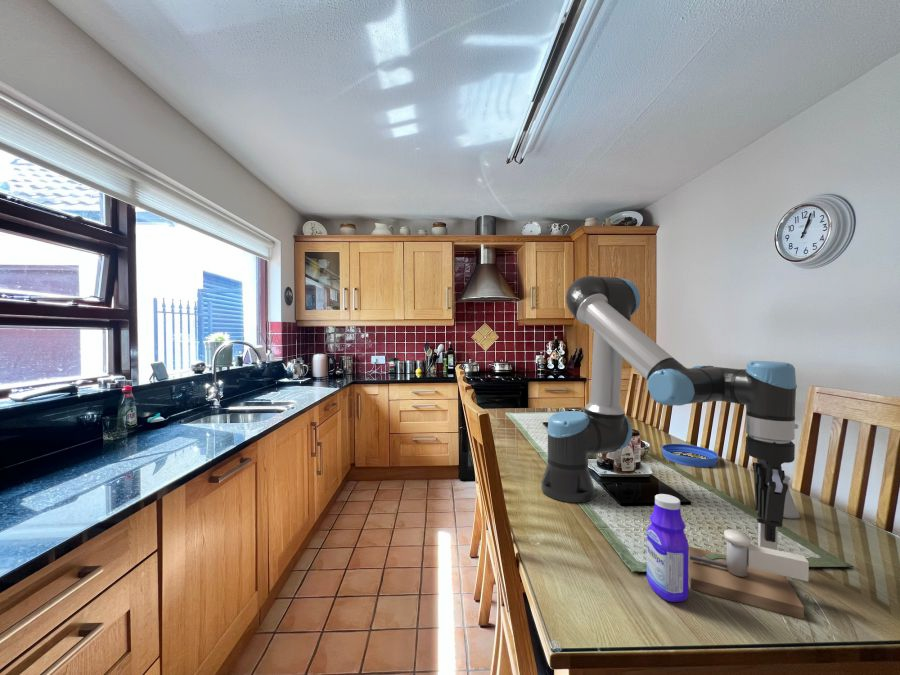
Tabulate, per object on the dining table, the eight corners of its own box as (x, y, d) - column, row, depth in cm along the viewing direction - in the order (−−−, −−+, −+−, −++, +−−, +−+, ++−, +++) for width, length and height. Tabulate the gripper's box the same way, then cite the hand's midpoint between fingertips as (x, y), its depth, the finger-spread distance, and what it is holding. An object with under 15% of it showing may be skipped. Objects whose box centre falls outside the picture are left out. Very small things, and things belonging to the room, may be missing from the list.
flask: (806, 521, 95) (807, 482, 95) (774, 518, 96) (775, 479, 96) (787, 508, 102) (788, 471, 102) (757, 505, 103) (758, 469, 103)
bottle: (640, 579, 72) (641, 490, 72) (667, 577, 73) (669, 489, 73) (664, 606, 65) (666, 508, 65) (695, 604, 66) (696, 507, 65)
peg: (690, 565, 73) (691, 530, 73) (688, 554, 77) (689, 520, 76) (810, 594, 65) (811, 555, 65) (801, 581, 68) (802, 543, 68)
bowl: (730, 468, 132) (730, 459, 132) (679, 468, 132) (679, 458, 132) (697, 452, 150) (697, 443, 150) (652, 451, 150) (652, 443, 150)
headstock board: (690, 588, 70) (690, 577, 70) (684, 554, 80) (684, 544, 80) (803, 619, 62) (803, 606, 62) (779, 577, 73) (780, 566, 73)
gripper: (807, 450, 67) (804, 578, 68) (782, 432, 79) (780, 542, 79) (754, 444, 71) (752, 566, 71) (738, 428, 82) (737, 533, 83)
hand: (767, 553), depth 75 cm, fingers closed
